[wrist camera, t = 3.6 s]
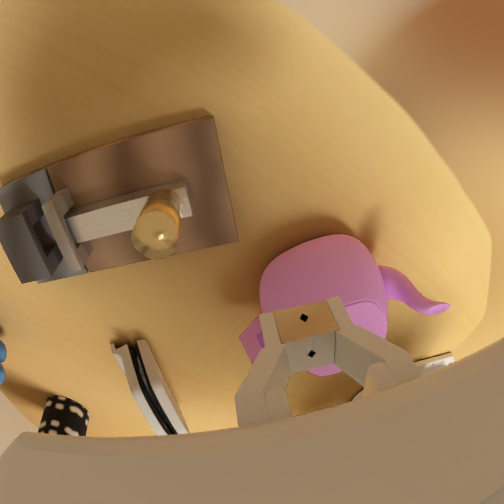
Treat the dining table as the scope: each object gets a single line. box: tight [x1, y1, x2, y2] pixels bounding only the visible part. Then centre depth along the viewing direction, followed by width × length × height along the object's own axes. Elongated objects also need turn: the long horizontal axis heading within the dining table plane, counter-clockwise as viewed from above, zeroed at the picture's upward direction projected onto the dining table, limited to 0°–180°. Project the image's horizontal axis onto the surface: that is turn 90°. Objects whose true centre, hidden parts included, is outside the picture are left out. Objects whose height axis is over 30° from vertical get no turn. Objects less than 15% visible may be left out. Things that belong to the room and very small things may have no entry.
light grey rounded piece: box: [111, 340, 190, 436], centre depth 37 cm, size 17×5×10 cm, turn 5°
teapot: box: [239, 234, 450, 376], centre depth 30 cm, size 13×20×11 cm, turn 111°
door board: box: [0, 116, 238, 284], centre depth 25 cm, size 22×11×5 cm, turn 99°
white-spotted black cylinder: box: [38, 396, 89, 436], centre depth 35 cm, size 8×8×20 cm
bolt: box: [63, 179, 194, 259], centre depth 22 cm, size 12×3×7 cm, turn 99°
